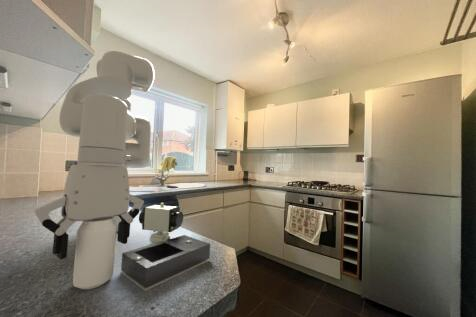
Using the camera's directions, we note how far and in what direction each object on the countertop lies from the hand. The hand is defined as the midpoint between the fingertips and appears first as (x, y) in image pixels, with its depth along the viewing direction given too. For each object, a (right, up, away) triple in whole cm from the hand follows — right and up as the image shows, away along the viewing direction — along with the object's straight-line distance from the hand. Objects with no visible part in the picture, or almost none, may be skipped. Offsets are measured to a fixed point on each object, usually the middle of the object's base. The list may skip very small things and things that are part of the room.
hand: (94, 248), depth 37 cm
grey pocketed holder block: (+11, -7, +7) cm, 15 cm away
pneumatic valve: (+5, -8, +20) cm, 22 cm away
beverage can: (0, -7, 0) cm, 7 cm away
